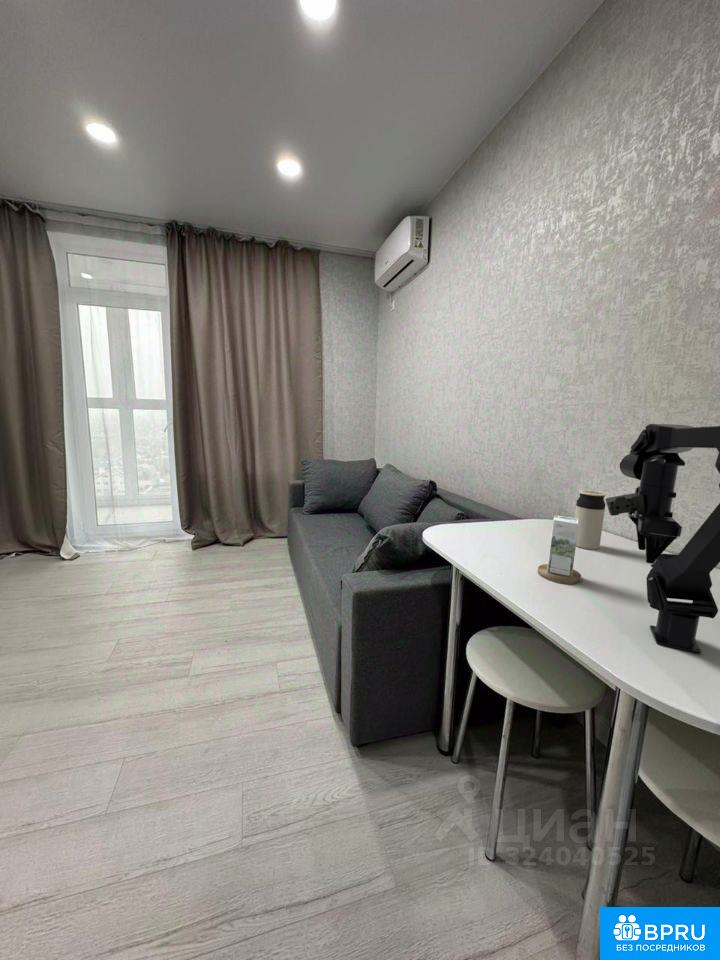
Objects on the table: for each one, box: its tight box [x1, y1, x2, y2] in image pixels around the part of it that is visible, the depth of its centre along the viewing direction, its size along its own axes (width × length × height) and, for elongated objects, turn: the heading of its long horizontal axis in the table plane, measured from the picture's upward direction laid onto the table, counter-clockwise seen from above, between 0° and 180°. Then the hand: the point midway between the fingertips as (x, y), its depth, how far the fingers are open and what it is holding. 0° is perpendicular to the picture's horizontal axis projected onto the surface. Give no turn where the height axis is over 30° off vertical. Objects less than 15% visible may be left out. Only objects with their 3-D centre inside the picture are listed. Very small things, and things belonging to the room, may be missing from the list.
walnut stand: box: [537, 563, 582, 585], centre depth 100 cm, size 10×10×1 cm
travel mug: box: [574, 489, 607, 550], centre depth 124 cm, size 8×8×18 cm
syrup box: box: [547, 514, 579, 577], centre depth 98 cm, size 6×6×14 cm
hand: (645, 556), depth 82 cm, fingers open, 9 cm apart
